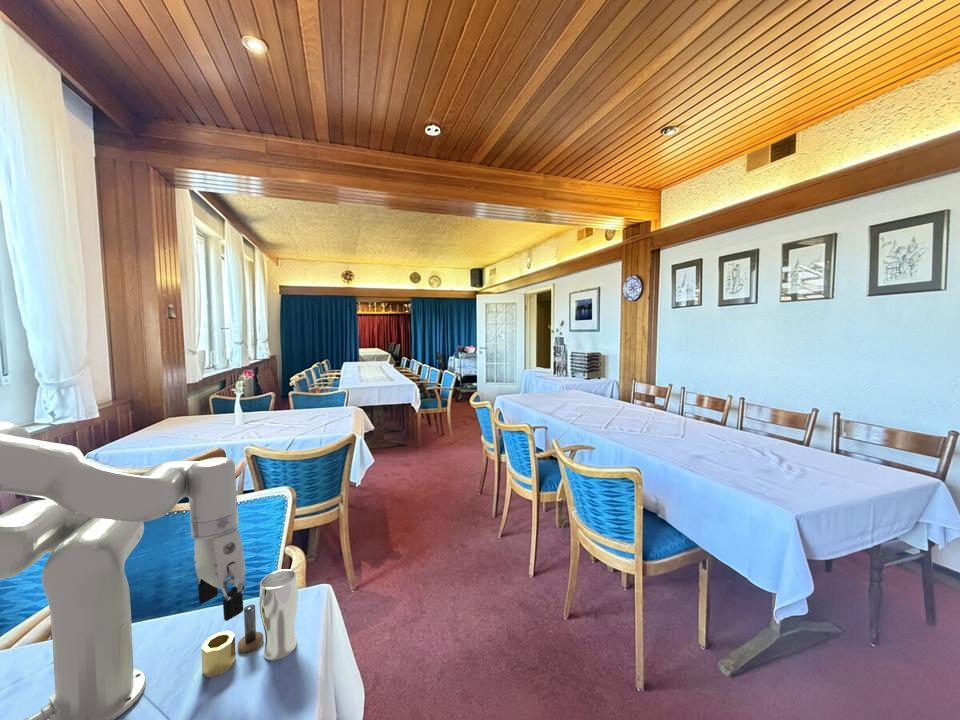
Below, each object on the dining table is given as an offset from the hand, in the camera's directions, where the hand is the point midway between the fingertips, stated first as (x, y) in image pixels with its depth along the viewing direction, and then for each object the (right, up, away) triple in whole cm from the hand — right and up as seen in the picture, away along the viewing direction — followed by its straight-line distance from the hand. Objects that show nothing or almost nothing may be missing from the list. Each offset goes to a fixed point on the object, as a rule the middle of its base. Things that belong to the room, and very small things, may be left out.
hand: (220, 607), depth 74 cm
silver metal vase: (+10, -12, +4) cm, 16 cm away
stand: (+3, -11, +5) cm, 13 cm away
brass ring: (0, -12, 0) cm, 12 cm away
